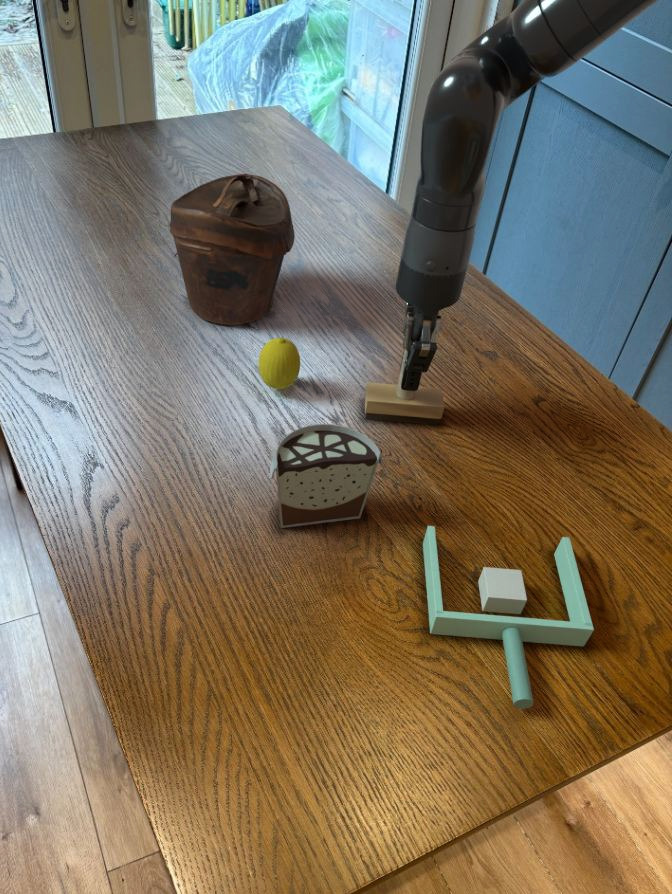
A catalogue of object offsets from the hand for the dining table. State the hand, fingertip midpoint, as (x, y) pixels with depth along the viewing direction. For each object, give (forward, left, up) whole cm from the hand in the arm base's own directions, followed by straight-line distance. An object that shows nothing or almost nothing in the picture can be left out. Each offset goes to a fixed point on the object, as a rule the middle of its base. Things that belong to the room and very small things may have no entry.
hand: (408, 381), depth 96 cm
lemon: (+16, -6, -5) cm, 18 cm away
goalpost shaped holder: (-3, +34, -5) cm, 35 cm away
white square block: (-4, +31, -5) cm, 31 cm away
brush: (0, 0, -5) cm, 5 cm away
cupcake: (+14, +16, -5) cm, 22 cm away
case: (+21, -28, -5) cm, 35 cm away
